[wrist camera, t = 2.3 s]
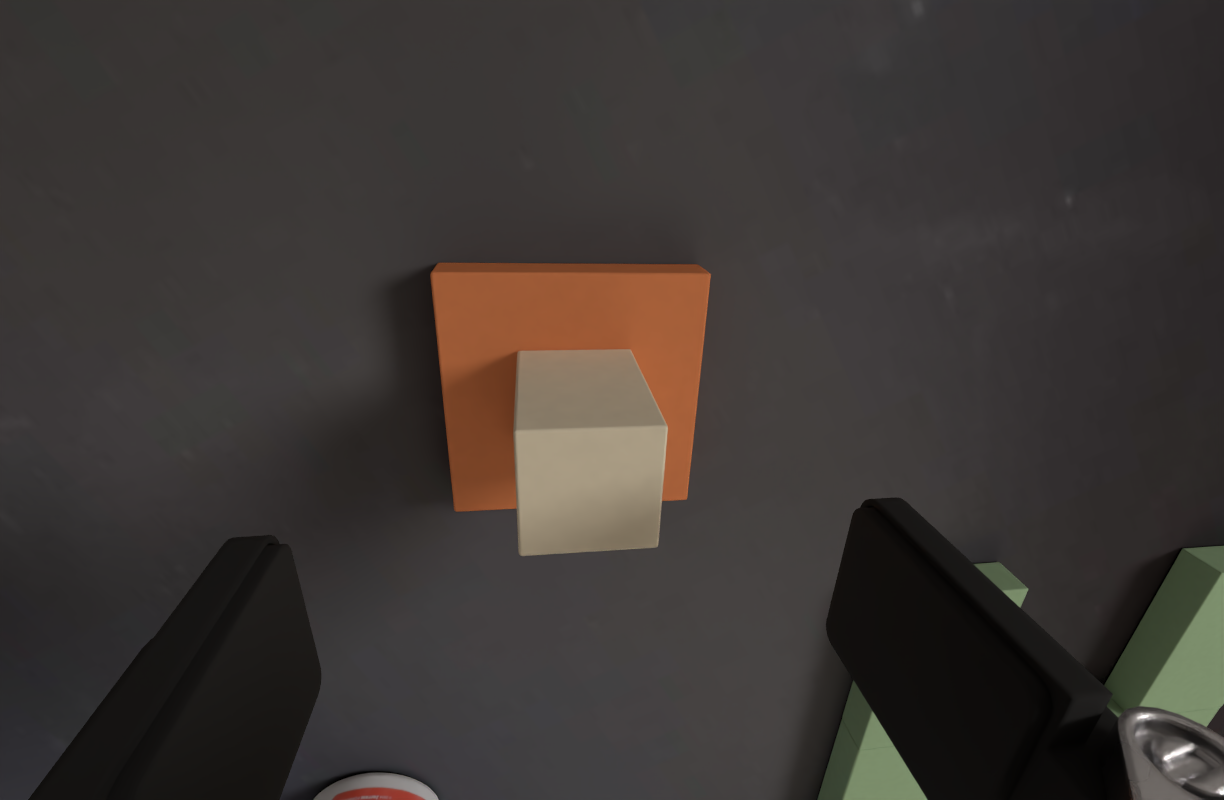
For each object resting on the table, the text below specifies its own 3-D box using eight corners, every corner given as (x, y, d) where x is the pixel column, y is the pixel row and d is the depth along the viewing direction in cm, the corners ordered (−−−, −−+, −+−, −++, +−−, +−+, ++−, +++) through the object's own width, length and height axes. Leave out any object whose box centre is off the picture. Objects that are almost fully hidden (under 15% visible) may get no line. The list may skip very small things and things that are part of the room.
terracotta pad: (699, 263, 16) (783, 326, 10) (678, 479, 18) (735, 610, 13) (436, 261, 15) (387, 329, 9) (458, 489, 18) (429, 635, 12)
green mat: (1278, 540, 24) (1323, 565, 23) (1108, 799, 31) (1134, 829, 30) (886, 569, 22) (909, 598, 20) (803, 842, 29) (816, 877, 28)
